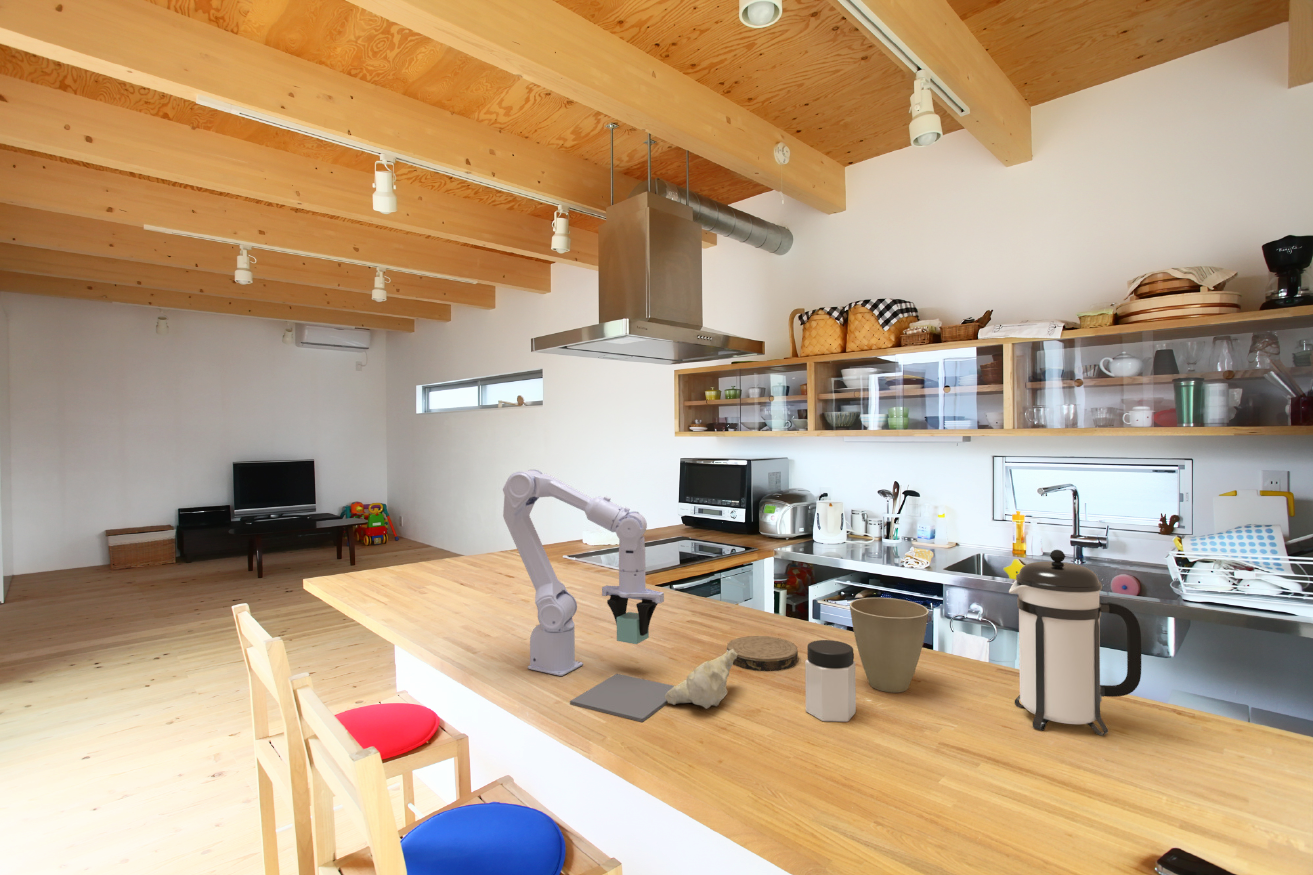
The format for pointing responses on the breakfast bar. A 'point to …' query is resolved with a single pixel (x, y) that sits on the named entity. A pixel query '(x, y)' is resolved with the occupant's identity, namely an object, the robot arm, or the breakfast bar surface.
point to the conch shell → (704, 683)
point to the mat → (625, 697)
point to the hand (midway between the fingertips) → (632, 632)
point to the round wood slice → (764, 653)
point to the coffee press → (1067, 644)
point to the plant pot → (889, 640)
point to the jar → (830, 681)
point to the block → (629, 628)
